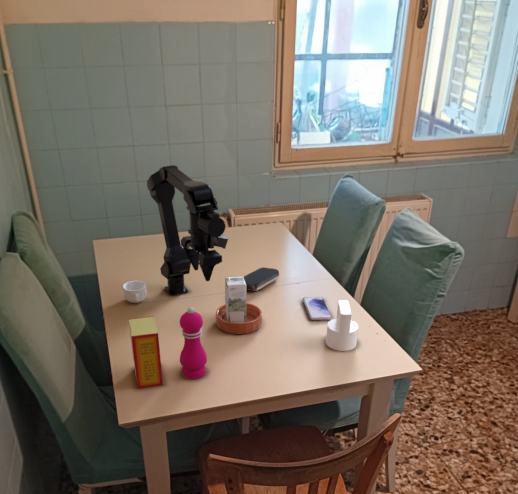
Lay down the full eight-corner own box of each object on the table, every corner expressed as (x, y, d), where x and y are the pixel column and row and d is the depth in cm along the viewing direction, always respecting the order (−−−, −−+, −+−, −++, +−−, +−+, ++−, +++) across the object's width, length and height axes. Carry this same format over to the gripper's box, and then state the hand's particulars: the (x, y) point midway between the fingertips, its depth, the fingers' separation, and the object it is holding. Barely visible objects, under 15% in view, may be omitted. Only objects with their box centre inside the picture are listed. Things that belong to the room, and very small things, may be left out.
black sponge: (254, 295, 195) (254, 285, 193) (235, 288, 199) (234, 278, 198) (281, 279, 206) (281, 270, 205) (262, 273, 211) (262, 264, 209)
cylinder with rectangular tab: (324, 334, 173) (327, 299, 167) (354, 335, 173) (358, 300, 166) (326, 350, 165) (330, 314, 159) (357, 351, 165) (362, 315, 159)
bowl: (209, 318, 180) (208, 307, 178) (248, 309, 186) (248, 298, 184) (228, 339, 170) (228, 327, 168) (269, 328, 176) (270, 317, 173)
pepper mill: (196, 383, 150) (193, 317, 140) (175, 374, 153) (170, 309, 143) (212, 370, 155) (210, 305, 145) (191, 362, 159) (188, 298, 148)
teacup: (123, 296, 193) (121, 282, 190) (145, 293, 195) (144, 279, 192) (126, 309, 185) (124, 294, 182) (150, 306, 187) (148, 291, 184)
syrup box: (243, 317, 181) (243, 275, 173) (246, 326, 176) (246, 283, 168) (225, 318, 180) (224, 276, 172) (228, 327, 175) (227, 284, 167)
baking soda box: (134, 368, 155) (128, 317, 147) (158, 365, 157) (153, 314, 149) (137, 388, 148) (131, 335, 139) (162, 384, 149) (157, 332, 141)
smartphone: (322, 296, 193) (332, 317, 180) (322, 299, 193) (332, 320, 181) (302, 297, 192) (310, 318, 179) (301, 299, 193) (310, 320, 180)
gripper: (237, 232, 165) (238, 281, 174) (211, 214, 180) (213, 260, 188) (202, 238, 161) (204, 288, 169) (178, 219, 175) (181, 266, 183)
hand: (202, 275), depth 177 cm, fingers open, 9 cm apart
